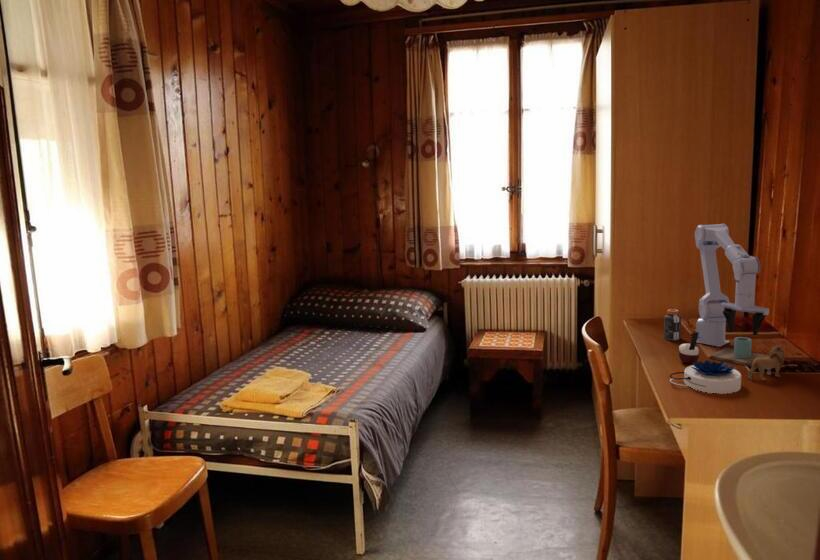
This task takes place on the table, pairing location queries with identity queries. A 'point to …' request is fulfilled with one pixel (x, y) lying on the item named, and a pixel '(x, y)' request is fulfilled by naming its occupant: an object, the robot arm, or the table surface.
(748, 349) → the grey-green cylinder
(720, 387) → the white round gift box
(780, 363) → the lion figurine
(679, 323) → the pill bottle
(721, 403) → the table surface
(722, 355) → the roll stand
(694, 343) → the cocoa
